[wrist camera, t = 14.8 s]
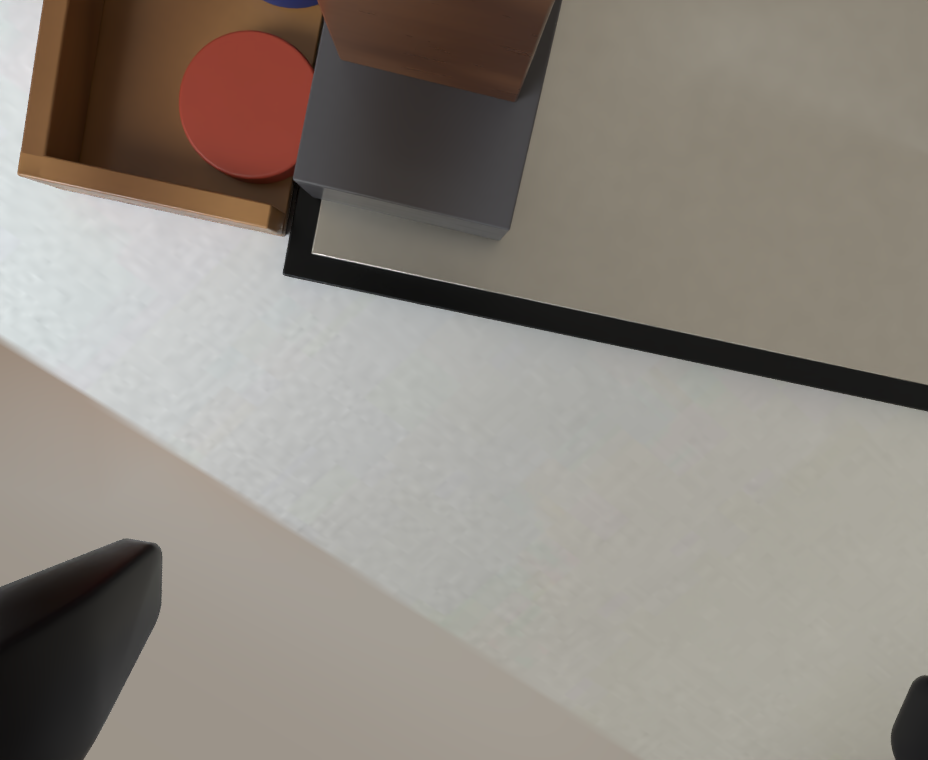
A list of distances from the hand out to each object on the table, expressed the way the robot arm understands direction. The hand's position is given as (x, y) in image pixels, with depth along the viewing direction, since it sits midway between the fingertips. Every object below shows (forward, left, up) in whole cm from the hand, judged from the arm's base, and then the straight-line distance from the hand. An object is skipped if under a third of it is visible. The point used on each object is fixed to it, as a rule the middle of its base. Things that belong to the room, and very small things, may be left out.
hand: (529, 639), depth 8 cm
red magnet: (+4, +10, -11) cm, 15 cm away
